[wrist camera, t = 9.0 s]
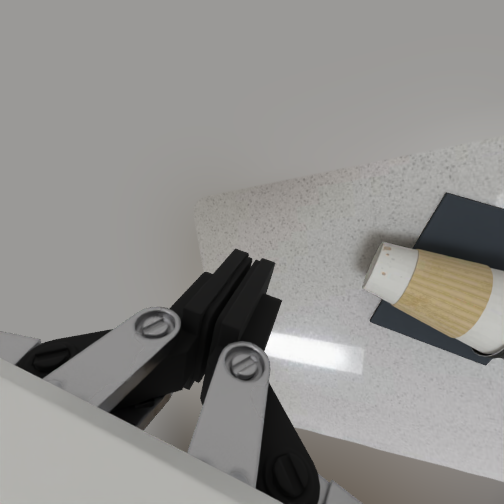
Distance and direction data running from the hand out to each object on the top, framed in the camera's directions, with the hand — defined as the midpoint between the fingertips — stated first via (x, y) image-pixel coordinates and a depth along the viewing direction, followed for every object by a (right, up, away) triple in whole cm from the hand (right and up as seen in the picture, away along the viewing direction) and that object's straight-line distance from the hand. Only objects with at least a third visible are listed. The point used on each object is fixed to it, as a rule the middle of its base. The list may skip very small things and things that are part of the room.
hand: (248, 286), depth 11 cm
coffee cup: (+15, 0, +22) cm, 27 cm away
